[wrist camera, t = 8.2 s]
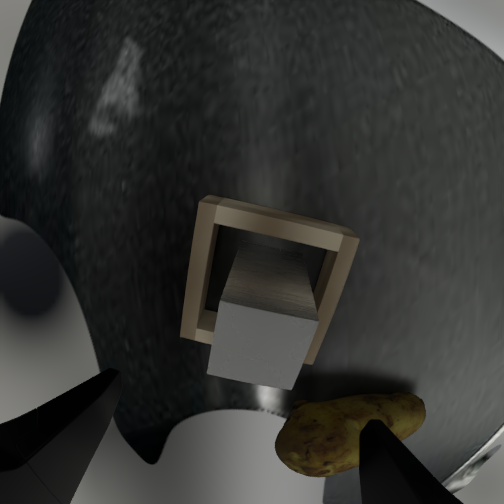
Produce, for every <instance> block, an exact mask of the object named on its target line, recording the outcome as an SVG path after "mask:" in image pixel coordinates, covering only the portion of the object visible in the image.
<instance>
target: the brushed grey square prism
mask: <svg viewBox="0 0 504 504" xmlns="http://www.w3.org/2000/svg"><path fill="white" fill-rule="evenodd" d="M318 324H319V318H318V314H317V310H316V305H315V301H314V297H313V293H312V289H311V285H310V281H309V277H308V273H307V269H306V265H305V261H304V257H303V254H300V253H296V252H291V251H287V250H283V249H278V248H274V247H269V246H265V245H260V244H256V243H251V242H247V241H242V240H241V243H240V245H239V248H238V251H237V254H236V257H235V259H234V262H233V265H232V268H231V271H230V274H229V276H228V279H227V282H226V285H225V288H224V291H223V293H222V296H221V299H220V303H219V308H218V314H217V319H216V325H215V330H214V336H213V341H212V347H211V353H210V358H209V364H208V370H207V374H210V375H215V376H219V377H223V378H228V379H233V380H237V381H242V382H247V383H252V384H258V385H263V386H269V387H275V388H281V389H287V390H292V388H293V386H294V383H295V381H296V379H297V376H298V374H299V371H300V369H301V367H302V364H303V362H304V359H305V357H306V354H307V352H308V349H309V347H310V344H311V342H312V339H313V337H314V334H315V332H316V329H317V326H318Z"/></svg>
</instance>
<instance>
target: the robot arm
mask: <svg viewBox="0 0 504 504" xmlns="http://www.w3.org/2000/svg"><path fill="white" fill-rule="evenodd" d="M121 392H122V377H121V372H120V371H118V370H116V369H113V368H108V369H106V370H105V371H103V372H101V373H99V374H98V375H96V376H94V377H92V378H90V379H89V380H87V381H85V382H83V383H81V384H80V385H78V386H76V387H74V388H72V389H70V390H69V391H67V392H65V393H63V394H62V395H59V396H58V397H56V398H54V399H52V400H50V401H48V402H47V403H45V404H43V405H41V406H39V407H37V409H36V408H35V409H34V410H32V411H29V412H28V413H25V414H23V415H21V416H19V417H17V418H15V419H12V420H10V421H7V422H4V423H2V424H0V504H70V503H71V500H72V498H73V496H74V494H75V492H76V490H77V488H78V486H79V484H80V482H81V480H82V477H83V476H84V474H85V472H86V470H87V468H88V465H89V463H90V461H91V459H92V458H93V456H94V454H95V451H96V449H97V448H98V446H99V444H100V442H101V440H102V438H103V436H104V434H105V432H106V430H107V428H108V426H109V424H110V421H111V419H112V416H113V413H114V410H115V408H116V405H117V402H118V400H119V397H120V395H121ZM359 475H360V486H361V497H362V504H463V503H462V502H461V501H460V500H459V499H457V498H456V497H455V496H454V495H453V494H452V493H450V492H449V491H448V490H447V489H446V488H445V487H444V486H443V485H442V484H441V483H440V482H439V481H438V480H437V479H436V478H435V477H433V475H432V474H431V473H430V472H429V471H428V470H427V469H426V467H425V466H424V465H423V464H422V463H421V462H420V461H419V460H418V459H417V458H416V457H415V456H414V455H413V454H412V453H411V451H410V450H409V449H408V448H407V447H406V446H405V445H404V444H403V443H402V442H401V441H400V440H399V439H398V438H397V436H396V435H395V434H394V433H393V432H392V431H391V430H390V429H389V428H388V427H387V426H386V425H385V423H384V422H383V421H382V420H380V419H370V420H369V421H368V422H367V424H366V425H365V426H364V428H363V429H362V430H361V432H360V435H359Z"/></svg>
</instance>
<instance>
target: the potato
mask: <svg viewBox="0 0 504 504" xmlns="http://www.w3.org/2000/svg"><path fill="white" fill-rule="evenodd" d="M294 404H295V405H293V408H294V409H293V410H292V411H291V413H290V414H289V416H288V418H287V420H286V422H285V423H284V426H283V428H282V429H281V430H280V432H279V434H278V436H277V438H276V441H275V450H276V453H277V455H278V457H279V459H280V460H281V461H282V462H283V463H284V464H285V465H286V466H287V467H288V468H290V469H291V470H293V471H295V472H297V473H300V474H303V475H306V476H310V477H329V476H331V475H333V474H337V473H341V472H344V471H346V470H349V469H352V468H355V467H358V466H359V435H360V432H361V430H362V429H363V428H364V426H365V425H366V424H367V422H368V421H369V420H370V419H380V420H382V421H383V422H384V423H385V425H386V426H387V427H388V428H389V429H390V430H391V431H392V432H393V433H394V434H395V435H396V436H397V438H398V439H399V440H400V441H402V440H404V439H405V438H407V437H409V436H410V435H412V434H413V433H414V432H415V431H417V430H418V429H419V428H420V427H421V425H422V424H423V422H424V420H425V417H426V410H425V405H424V402H423V400H422V399H420V398H419V397H418V396H416V395H413V394H411V393H410V392H396V393H393V394H391V395H389V394H380V393H370V394H359V395H352V396H347V397H343V398H338V399H334V400H329V401H322V402H311V403H310V402H309V401H307V402H306V400H300V401H296V402H294Z"/></svg>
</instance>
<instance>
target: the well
mask: <svg viewBox="0 0 504 504" xmlns="http://www.w3.org/2000/svg"><path fill="white" fill-rule="evenodd" d="M219 224H221V225H225V226H230V227H234V228H239V229H243V230H247V231H252V232H256V233H261V234H265V235H269V236H274V237H278V238H282V239H286V240H291V241H295V242H299V243H303V244H308V245H312V246H316V247H320V248H324V249H327V252H326V255H325V259H324V262H323V265H322V268H321V271H320V274H319V277H318V281H317V284H316V287H315V290H314V293H313V297H314V301H315V305H316V310H317V314H318V318H319V324H318V326H317V329H316V332H315V334H314V337H313V339H312V342H311V344H310V347H309V349H308V352H307V354H306V357H305V359H304V362H303V363H305V364H311V365H313V362H314V360H315V358H316V355H317V353H318V351H319V348H320V346H321V344H322V341H323V339H324V337H325V334H326V332H327V329H328V327H329V324H330V322H331V319H332V317H333V314H334V312H335V309H336V306H337V304H338V301H339V298H340V296H341V293H342V290H343V288H344V285H345V282H346V279H347V276H348V274H349V271H350V268H351V265H352V262H353V259H354V256H355V253H356V250H357V247H358V244H359V241H360V239H359V238H358V237H357V235H356V234H355V233H354V232H353V231H352V230H351V229H350V228H349V227H345V226H341V225H337V224H333V223H329V222H326V221H322V220H318V219H314V218H310V217H306V216H302V215H298V214H293V213H289V212H285V211H281V210H277V209H272V208H268V207H264V206H259V205H255V204H251V203H246V202H242V201H237V200H232V199H228V198H223V197H218V196H214V195H208V196H206V197H205V198H203V199H202V200H201V201H199V206H198V212H197V218H196V224H195V230H194V236H193V242H192V249H191V255H190V262H189V269H188V276H187V284H186V291H185V299H184V307H183V315H182V324H181V333H180V337H184V338H188V339H191V340H195V341H199V342H203V343H207V344H211V345H212V341H213V336H214V330H215V325H216V319H217V314H218V312H214V311H210V310H206V309H205V303H206V297H207V291H208V285H209V279H210V274H211V268H212V262H213V257H214V251H215V246H216V240H217V235H218V230H219Z"/></svg>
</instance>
